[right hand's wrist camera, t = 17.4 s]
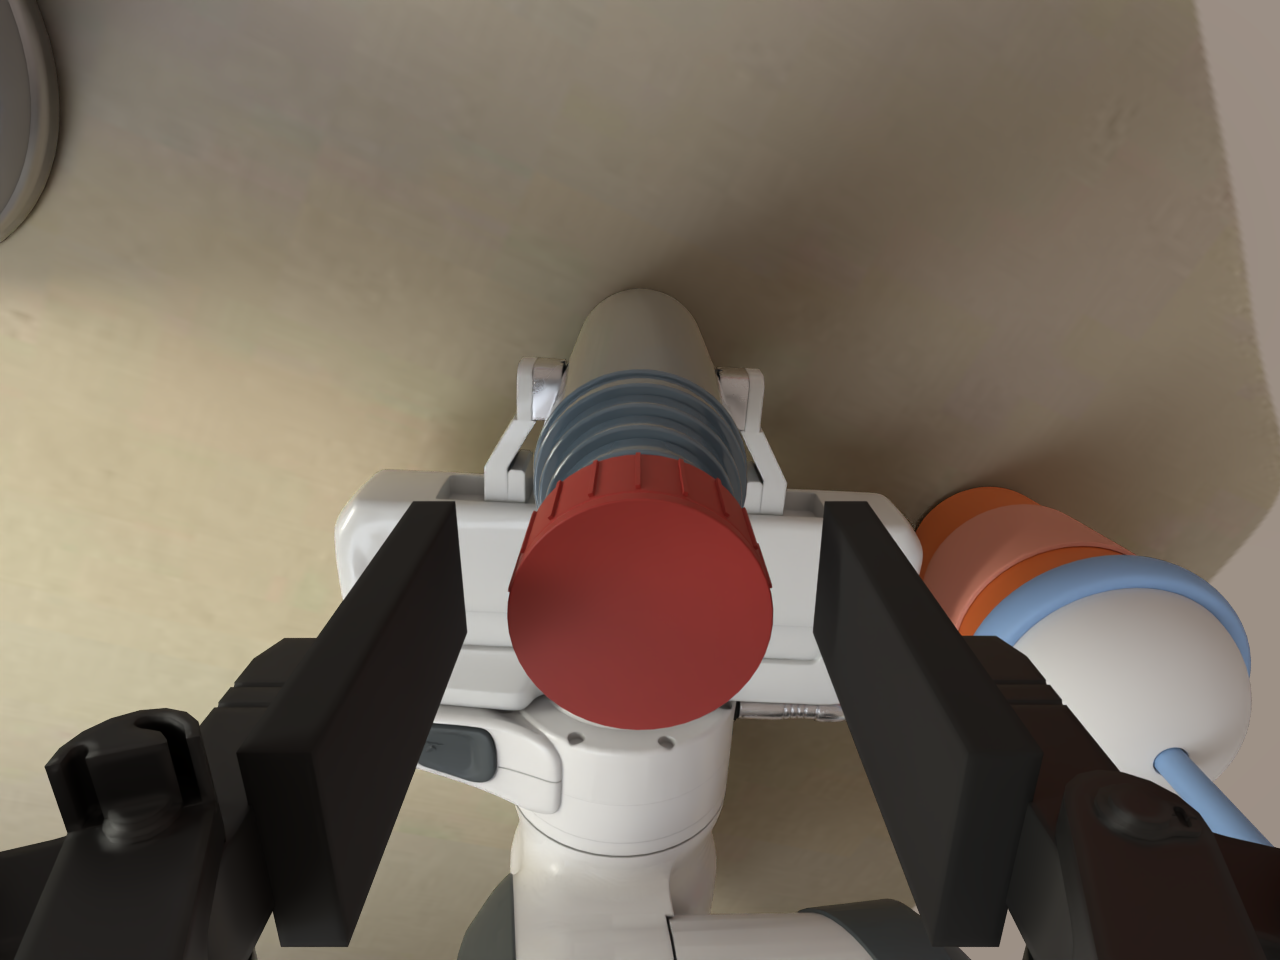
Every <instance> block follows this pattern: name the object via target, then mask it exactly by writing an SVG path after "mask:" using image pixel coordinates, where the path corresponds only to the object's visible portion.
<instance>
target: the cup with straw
mask: <svg viewBox="0 0 1280 960" xmlns="http://www.w3.org/2000/svg"><path fill="white" fill-rule="evenodd" d="M916 535H917V536H918V538H919V540H920V543H921V546H922V550H923V560H922V566H921V570H920V574H919V576H920V577H921V579H922V580H923V581H924V583H925V584H926V586H927V587H928V589H929V590H930V591H931V593H932V594H933V596H934V597H935V599H936V600H937V601H938V603H939V604H940V606H941V607H942V608H943V610H944V611H945V613H946V614H947V616H948V617H949V618H950V620H951V621H952V623H953V624H954V626H955V627H956V628H957V630H958V631H959V633H960V634H961V635H962V636H997V637H999V638H1000V639H1002V640H1003V641H1005V642H1006V643H1008V644H1009V645H1011V646H1012V647H1014V648H1015V649H1017V650H1018V651H1020V652H1021V653H1023V654H1025V655H1026V656H1027V657H1028V658H1029V659H1030V661H1031V662H1032V663H1033V664H1034V666H1035V667H1036V668H1037V669H1038V670H1039V672H1040V673H1041V674H1042V675H1043V677H1044V678H1045V679H1046V684H1047V685H1051V687H1052V688H1053V689H1054V690H1055V691H1056V693H1057V694H1058V695H1059V696H1060V698H1061V699H1062V704H1063V705H1067V706H1068V707H1069V709H1070V710H1071V711H1072V712H1073V714H1074V715H1075V716H1076V717H1077V719H1078V720H1079V721H1080V722H1081V724H1082V725H1083V726H1084V727H1085V728H1086V730H1087V731H1088V732H1089V733H1090V735H1091V736H1092V737H1093V738H1094V740H1095V741H1096V742H1097V743H1098V745H1099V746H1100V747H1101V748H1102V749H1103V751H1104V752H1105V753H1106V754H1107V756H1108V757H1109V758H1110V759H1111V761H1112V762H1113V763H1114V764H1115V766H1116V767H1117V768H1118V769H1119V770H1120V772H1124V773H1128V774H1131V775H1134V776H1137V777H1140V778H1144V779H1147V780H1150V781H1152V782H1154V783H1156V784H1158V785H1160V786H1161V787H1163V788H1165V789H1167V790H1169V791H1171V792H1173V793H1175V794H1177V795H1178V796H1179V797H1180V798H1182V799H1183V800H1184V801H1185V802H1187V803H1188V804H1189V805H1190V806H1191V807H1193V808H1194V809H1195V810H1196V811H1198V812H1199V813H1200V815H1201V816H1202V818H1203V819H1204V821H1205V822H1206V823H1207V825H1208V826H1209V828H1210V829H1211V831H1212V832H1214V833H1217V834H1221V835H1224V836H1227V837H1232V838H1236V839H1241V840H1245V841H1249V842H1254V843H1258V844H1263V845H1267V846H1271V847H1274V846H1273V845H1272V844H1271V843H1270V842H1269V841H1268V840H1267V839H1266V838H1265V837H1264V836H1263V835H1262V834H1261V833H1260V832H1259V831H1258V829H1257V828H1256V827H1255V826H1254V825H1253V824H1252V823H1251V822H1250V821H1249V820H1248V819H1247V818H1246V817H1245V816H1244V815H1243V814H1242V813H1241V812H1240V810H1239V809H1238V808H1237V807H1236V806H1235V805H1234V804H1233V803H1232V802H1231V801H1230V800H1229V799H1228V798H1227V797H1226V796H1225V795H1224V794H1223V793H1222V792H1221V790H1220V789H1219V788H1218V787H1217V786H1216V785H1215V784H1214V783H1213V781H1214V780H1215V779H1216V778H1218V777H1219V776H1220V775H1221V774H1222V773H1223V772H1224V770H1225V769H1226V768H1227V767H1228V766H1229V765H1230V763H1231V762H1232V761H1233V759H1234V758H1235V756H1236V755H1237V753H1238V751H1239V749H1240V747H1241V745H1242V743H1243V741H1244V738H1245V736H1246V733H1247V730H1248V726H1249V721H1250V715H1251V705H1252V698H1251V685H1250V680H1249V678H1250V670H1251V657H1250V648H1249V643H1248V639H1247V636H1246V633H1245V630H1244V628H1243V625H1242V623H1241V621H1240V619H1239V617H1238V616H1237V614H1236V612H1235V611H1234V609H1233V608H1232V607H1231V605H1230V604H1229V603H1228V601H1227V600H1226V599H1225V598H1224V597H1223V596H1222V595H1221V594H1220V593H1219V592H1218V591H1217V590H1216V589H1215V588H1214V587H1212V586H1211V585H1210V584H1209V583H1207V582H1206V581H1205V580H1204V579H1202V578H1200V577H1199V576H1197V575H1196V574H1194V573H1192V572H1190V571H1188V570H1186V569H1184V568H1182V567H1180V566H1178V565H1175V564H1172V563H1169V562H1166V561H1163V560H1159V559H1155V558H1150V557H1143V556H1137V555H1135V554H1134V553H1132V552H1130V551H1129V550H1127V549H1125V548H1123V547H1122V546H1120V545H1118V544H1117V543H1115V542H1113V541H1111V540H1110V539H1108V538H1106V537H1104V536H1103V535H1101V534H1099V533H1097V532H1096V531H1094V530H1092V529H1091V528H1089V527H1087V526H1085V525H1084V524H1082V523H1080V522H1078V521H1077V520H1075V519H1073V518H1071V517H1070V516H1068V515H1066V514H1064V513H1062V512H1060V511H1058V510H1055V509H1052V508H1049V507H1045V506H1041V505H1040V504H1038V503H1036V502H1035V501H1033V500H1031V499H1029V498H1028V497H1026V496H1024V495H1022V494H1020V493H1018V492H1015V491H1012V490H1009V489H1005V488H999V487H979V488H973V489H969V490H965V491H962V492H960V493H957V494H955V495H953V496H951V497H949V498H947V499H946V500H944V501H942V502H941V503H940V504H938V505H937V506H936V507H935V508H934V509H932V510H931V511H930V512H929V513H928V515H927V516H926V517H925V518H924V519H923V521H922V522H921V524H920V525H919V527H918V529H917V531H916Z"/></svg>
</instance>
